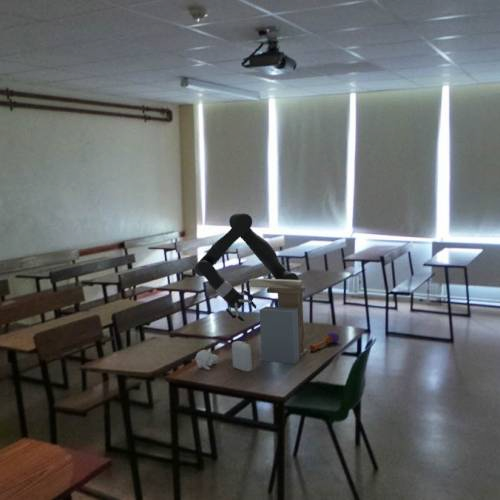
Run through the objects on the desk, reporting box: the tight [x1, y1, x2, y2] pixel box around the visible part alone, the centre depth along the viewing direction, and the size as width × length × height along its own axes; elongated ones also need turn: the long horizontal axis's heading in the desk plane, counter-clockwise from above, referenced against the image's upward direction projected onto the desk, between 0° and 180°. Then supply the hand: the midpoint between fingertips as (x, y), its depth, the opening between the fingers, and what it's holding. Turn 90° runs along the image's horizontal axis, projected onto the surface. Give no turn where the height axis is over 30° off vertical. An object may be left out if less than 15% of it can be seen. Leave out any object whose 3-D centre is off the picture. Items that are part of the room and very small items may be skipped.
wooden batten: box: [248, 277, 304, 289], centre depth 265 cm, size 4×26×4 cm, turn 65°
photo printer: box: [231, 340, 253, 372], centre depth 248 cm, size 10×4×12 cm, turn 39°
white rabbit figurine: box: [194, 349, 219, 371], centre depth 253 cm, size 6×8×12 cm
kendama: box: [309, 331, 340, 352], centre depth 275 cm, size 6×6×20 cm
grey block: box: [259, 306, 301, 365], centre depth 256 cm, size 7×16×24 cm, turn 65°
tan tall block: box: [266, 286, 308, 359], centre depth 265 cm, size 8×16×32 cm, turn 65°
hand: (249, 314), depth 276 cm, fingers open, 8 cm apart
